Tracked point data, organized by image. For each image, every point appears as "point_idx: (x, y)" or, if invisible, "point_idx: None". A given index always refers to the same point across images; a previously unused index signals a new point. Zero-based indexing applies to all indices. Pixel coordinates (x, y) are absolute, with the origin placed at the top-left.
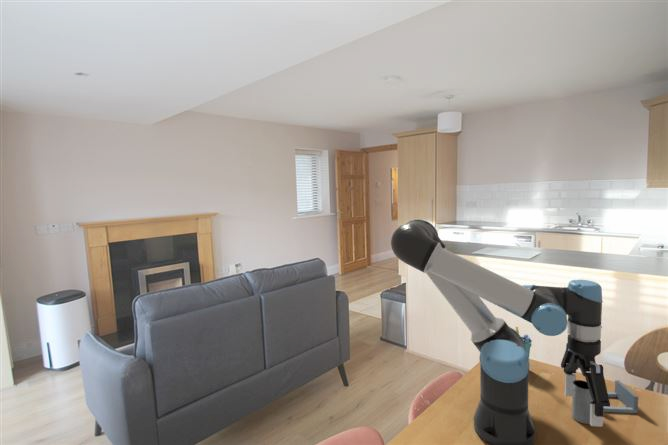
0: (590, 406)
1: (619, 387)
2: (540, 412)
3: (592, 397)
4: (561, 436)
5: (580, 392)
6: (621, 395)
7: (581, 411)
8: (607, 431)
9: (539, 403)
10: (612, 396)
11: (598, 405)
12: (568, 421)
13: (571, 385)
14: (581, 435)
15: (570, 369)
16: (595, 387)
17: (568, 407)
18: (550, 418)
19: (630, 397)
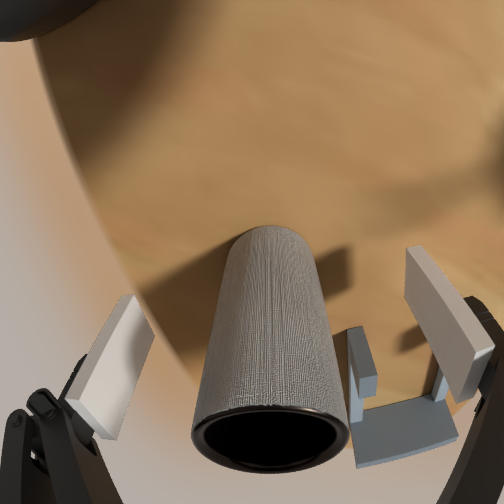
0: (90, 370)
1: (432, 432)
2: (268, 58)
3: (55, 430)
4: (82, 141)
5: (199, 389)
6: (415, 417)
7: (220, 291)
8: (204, 330)
9: (371, 76)
10: (434, 387)
11: (16, 411)
12: (223, 196)
13: (432, 322)
14: (127, 229)
15: (474, 436)
16: (2, 500)
17: (363, 229)
18: (220, 104)
19: (374, 446)
